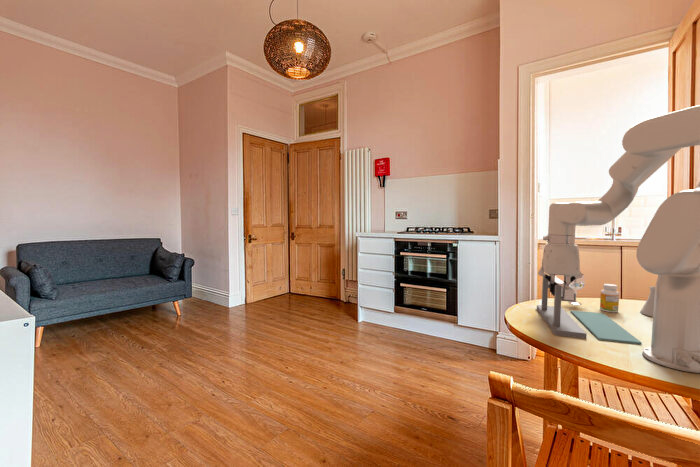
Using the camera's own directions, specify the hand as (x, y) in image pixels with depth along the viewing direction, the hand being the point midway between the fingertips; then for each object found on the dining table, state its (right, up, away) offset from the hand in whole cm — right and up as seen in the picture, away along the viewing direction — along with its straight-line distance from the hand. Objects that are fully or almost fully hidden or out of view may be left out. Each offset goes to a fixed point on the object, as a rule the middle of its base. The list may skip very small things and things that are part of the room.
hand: (558, 294), depth 110 cm
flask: (+39, -9, +8) cm, 41 cm away
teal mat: (+12, -9, -3) cm, 15 cm away
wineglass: (+21, -8, +23) cm, 32 cm away
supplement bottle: (+27, -9, +13) cm, 31 cm away
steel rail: (0, +1, 0) cm, 1 cm away
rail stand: (0, -9, +1) cm, 9 cm away
